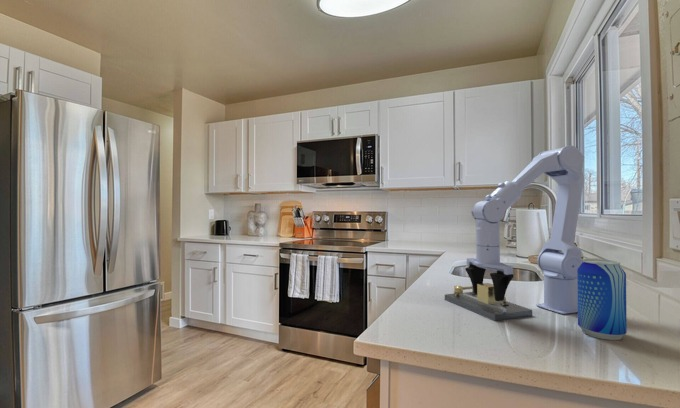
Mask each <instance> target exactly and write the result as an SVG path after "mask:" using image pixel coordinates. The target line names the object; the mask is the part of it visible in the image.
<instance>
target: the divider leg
mask: <svg viewBox="0 0 680 408" xmlns="http://www.w3.org/2000/svg"><path fill="white" fill-rule="evenodd" d="M477 300H478V301H481V302H483V303H486V304H496V303H499V301H495V297H494V286H493V283H489V282H483V283H482V284H477ZM506 301H507V299H506V295H505V296H504V300H503V303H505V304H506Z"/></svg>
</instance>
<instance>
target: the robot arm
mask: <svg viewBox="0 0 680 408" xmlns="http://www.w3.org/2000/svg"><path fill="white" fill-rule="evenodd" d="M584 160H585V156H584V154H583V153H582V151H580V149H578V148H577V147H576V146H575V145H566V146H565V145H564V146H563V147H558V148H555V149H551V150H544V151H541V152H539V153H538V155H536V156H534V157H533V158H532V160H531V162H530V163H529V164H528V165H526V166H525V167H524V169H523V170H521V172H520V173H519V174H518V175H517V176H516V177H515V178H513V180H512V181H504V182H499V183H498V184H497V187H496V189H494V191H493V192H491V193H490V194H487V195H486V196H485V197H484V198H485V199H484V200H481V201H478V202H476V203H475V204H474V206H473V209H472V210H471V212H470V213H471V216H472V218H473V220H474V221H475V235H476V237H475V238H476V239H475V241H476V242H475V243H476V244H475V245H476V246H475V247H476V248H475V249H476V252H475V253H476V258H473V257H468V258H466V266H468V267H465V272H466V273H467V275H468V276H469V277H468V278H469V279H470V282H471V286H473V290H474V293H475V294H477V284H482V283H484V277H485V273H486V271H487V270H488V271H493V272H489V276H490V278H491V281H492V284H493V286H494V297H495V301H503V300H504V296H505V297H506V292H507V289H508V287H509V285H510V283H511V281H512V280H513V278H514V266H512V265H509V264H505V263H503V262H501V261H500V260H501V245H500V243H501V241H500V240H501V237H500V235H501V233H500V232H501V231H500V222H501V220H503V219H504V218H505V214H506V211H507V210H508V209H510V207H511V206H513V204H514V203H516V202H517V201H518V200H519V199H521V197H522V195H523V193H522V192H523V190H524V189H526V187H528V186H529V185H530V184H531V183H533V182H534V181H536V179H538V178H539V177H540V176H541V175H543V174H544V175H546V176H547V177H549V178H550V179H551V180H554V181H555V182H556V183H557V184H558V185H557V187H558V188H557V194H556V201H555V207H554V213H553V219H552V226H551V232H550V238H549V239H548V240H547V241H546V242H545V243H544V244H543V245H542V246H541V247H542V248H541V251H540V252H539V254H538V256H537V259H536V261H537V262H536V263H537V266H538V268H539V269H540V270H541V273H542V274H543V302H542V303H536V305H535V306H537V307H538V308H541V309H546V310H547V311H548V310H549V311H552V312H555V313H557V314H560V315H566V314H574V313H578V282H577V270H578V268H579V266H580V265H581V264H582V263H583V261H582V260H583V259H582V254H583V252H582V250H581V249H580V248H579V247H578V246H577V245H576V244H575V237H576V232H577V226H578V220H579V212H580V206H581V200H582V194H583V188H584V180H585V179H584V172H583V167H584Z"/></svg>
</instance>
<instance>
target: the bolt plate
mask: <svg viewBox="0 0 680 408" xmlns="http://www.w3.org/2000/svg"><path fill="white" fill-rule="evenodd" d="M453 289H454V290H453V293H445V294H444V300H445V301H447V302H449V303H452V304H454V305H456V306H459V307H461V308H463V309H466V310H468V311H471V312H473V313H476V314H477V315H480V316H482V317H485V318H487V319H490V320H492V321H493V322H499V321H505V320H512V319H518V318H520V319H521V318H526V317H527V318H528V317H532V316H533V310H532V309H531V308H528V307H524V306H521V305H520V304H519V305H518V304H516V303H514V302H510V301H507V300H506V304H505V303H503V301H499V303H496V304H486V303H483V302H481V301H478V300H477V294H475V293H474V290H473V286H472V285H471V286H461V285H455V286H454V287H453ZM464 290H472V291H467V292H465V291H464Z"/></svg>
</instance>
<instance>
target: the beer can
mask: <svg viewBox="0 0 680 408" xmlns="http://www.w3.org/2000/svg"><path fill="white" fill-rule="evenodd" d="M577 282H578V312H577V326H579V328H580V329H581V332H583V333H584V334H585V335H588V336H590V337H593V338H597V339H602V340H608V341H618V340H622V339H623V338H624V336H625V335H626V334H627V333H628V332H627V331H628V329H627V328H628V327H627V325H628V324H627V320H628V319H627V273H626V272H625V269H623V268H622V266H621V262H620V261H616V260H610V259H603V258H602V259H601V258H599V259H598V258H583V259H582V264H581V265H580V266H579V268H578V270H577Z"/></svg>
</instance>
